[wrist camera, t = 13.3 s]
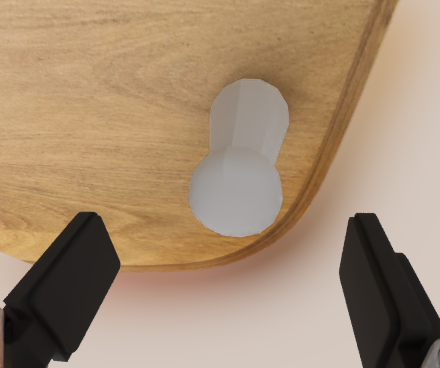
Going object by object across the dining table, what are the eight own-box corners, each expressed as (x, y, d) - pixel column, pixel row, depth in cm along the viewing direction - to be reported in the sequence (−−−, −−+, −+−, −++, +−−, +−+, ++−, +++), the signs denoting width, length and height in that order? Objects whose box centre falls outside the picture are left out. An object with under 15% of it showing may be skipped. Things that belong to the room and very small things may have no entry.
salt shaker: (302, 94, 22) (334, 194, 11) (263, 152, 25) (258, 273, 14) (234, 56, 21) (196, 124, 10) (203, 121, 24) (149, 225, 13)
